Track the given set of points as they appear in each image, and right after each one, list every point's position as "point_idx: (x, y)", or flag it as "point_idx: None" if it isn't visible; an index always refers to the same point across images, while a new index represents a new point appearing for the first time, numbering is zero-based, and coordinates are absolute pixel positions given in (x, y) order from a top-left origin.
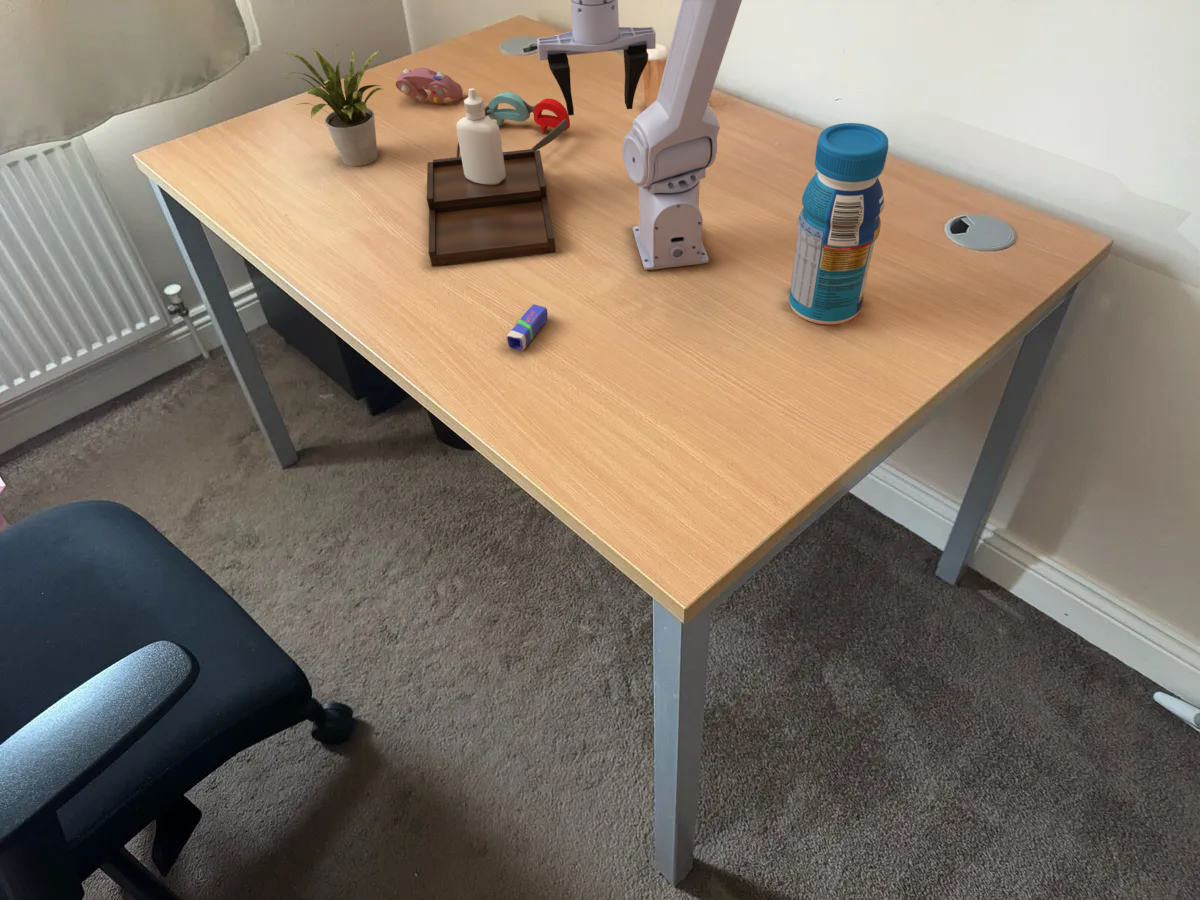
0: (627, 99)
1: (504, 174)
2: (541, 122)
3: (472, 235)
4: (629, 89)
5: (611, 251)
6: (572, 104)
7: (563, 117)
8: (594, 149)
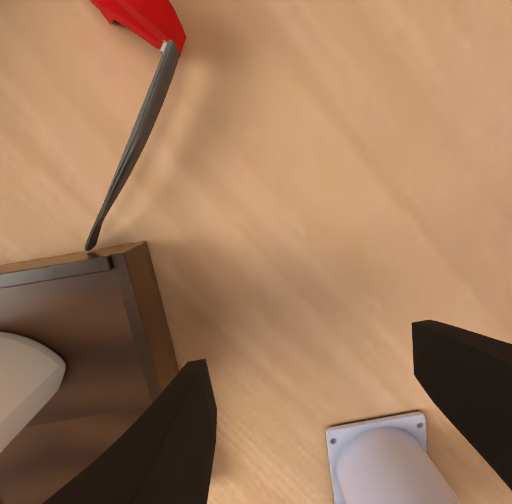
0: (442, 407)
1: (60, 377)
2: (98, 5)
3: (56, 486)
4: (490, 460)
5: (290, 473)
6: (211, 460)
7: (163, 35)
8: (254, 129)
